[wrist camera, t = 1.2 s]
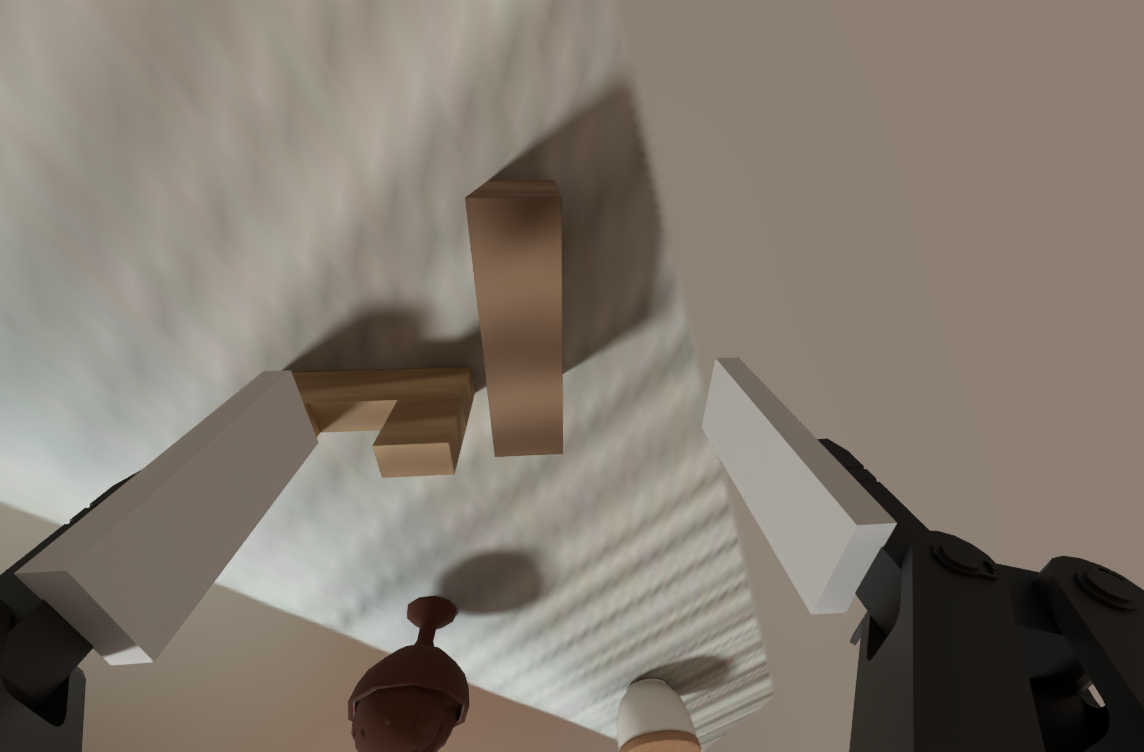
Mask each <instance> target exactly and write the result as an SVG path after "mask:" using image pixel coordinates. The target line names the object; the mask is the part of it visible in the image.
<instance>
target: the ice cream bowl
mask: <svg viewBox="0 0 1144 752" xmlns="http://www.w3.org/2000/svg"><path fill="white" fill-rule="evenodd" d="M456 609H457V608H456V607H455V606H454V605H453V604H452V603H451V602H450V601H449V600H446V599H442V598H438V597H435V596H433V597H424V598H418V599H416V600H415V601H413V602H412V603H410V604H408V610H407V619H408V620H410V621H411V622H412V623H413V624H414V625H415V626H417V627H419V628H420V630H419V635H418V639H417V641H416V643H415V644H414V645H410V646H406V647H403V648H401V649H399V650H397V651H395V652H394V653H392V654H390V655H389V656H387V657H386V658H384V659H383V660H381V661H380V662H379V663H377V664H376V665H374V666H373V667H372V668H370V669H369V670H368V671H367V672H366V673H365V675H364V676H363V677H362V678H361V680H360V681H359V682H358V684H357V686H356V687H355V689H354V691H353V693H352V695H351V697H350V699H349V701H348V719H349V720H350V721H352V722H353V724H352V736H353V739H354V740H355V747H356V749H357V750H358V752H437V751H438V750H439V749H440V748H441V747H442V746H444V745H445V743H446V741H447V739H448V738H449V736H450V734H451V732H452V729H453V727H455V726H457V725H459V724H461V723H463V722H465V719H466V715H467V712H468V708H469V688H468V684H467V680H466V677H465V674H464V672H463V671H462V670H461V668H460V667H459V666H458V664H457V663H456V662H455V661H454V660H453V659H452V658H451V657H450V656H448V655H447V654H446V653H445V652H444V651H442V650H441V649H440V648H438V647H434V643H433V640H434V636H435V631H436V629H439V628H443V627H444V626H446V625H448V624H449V623H451V622H453V620H454V618H455V614H456Z"/></svg>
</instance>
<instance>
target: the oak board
mask: <svg viewBox="0 0 1144 752" xmlns="http://www.w3.org/2000/svg"><path fill="white" fill-rule="evenodd" d="M292 375H293V378H294V380H295V383H296V385H297V388H298V391H299V393H300V396H301V398H302V401H303V404H304V406H305V409H306V412H307V414H308V417H309V419H310V422H311V425H312V427H313V430H314V433H315V435H316V438H317V436H318V435H319V434H320V432H344V431H369V430H381V431H380V433H379V435H378V437H377V438H376V440H375V442H374V444H373V450H374V453H375V456H376V459H377V463H378V466H379V469H380V472H381V476H382V478H386V477H407V476H429V475H450V474H455V470H456V466H457V462H458V458H459V454H460V450H461V446H462V442H463V438H464V434H465V430H466V426H467V422H468V418H469V414H470V410H471V406H472V402H473V398H474V394H475V393H474V385H473V378H472V370H471V367H457V368H423V369H389V370H355V371H321V372H292Z"/></svg>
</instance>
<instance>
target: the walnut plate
mask: <svg viewBox="0 0 1144 752" xmlns="http://www.w3.org/2000/svg"><path fill="white" fill-rule="evenodd" d="M465 201H466V210H467V219H468V227H469V236H470V245H471V253H472V262H473V271H474V279H475V288H476V297H477V305H478V314H479V323H480V331H481V340H482V349H483V357H484V366H485V375H486V383H487V392H488V401H489V409H490V418H491V427H492V435H493V444H494V453H495V457H502V456H524V455H546V454H563V377H562V216H561V196H560V194H559V191H558V189H557V187H556V185H555V182H554V181H487V182H486V183H484V184H483V185H482V186H480V187H479V188H478V189H476V190H475V191H474V192H472V193H471V194H470V195H468V196H467V197H466V198H465Z"/></svg>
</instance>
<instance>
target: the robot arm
mask: <svg viewBox="0 0 1144 752" xmlns="http://www.w3.org/2000/svg"><path fill="white" fill-rule="evenodd" d="M702 429H703V431H704V432H705V434H706V436H707V437H708V439H709V441H710V442H711V444H712V446H713V448H714V449H715V451H716V453H717V454H718V456H719V458H720V460H721V461H722V463H723V465H724V466H725V468H726V470H727V472H728V473H729V475H730V477H731V478H732V480H733V482H734V483H735V485H736V487H737V488H738V490H739V492H740V494H741V495H742V497H743V499H744V501H745V502H746V504H747V505H748V507H749V509H750V511H751V512H752V514H753V516H754V518H755V519H756V521H757V523H758V524H759V526H760V528H761V530H762V531H763V533H764V535H765V536H766V538H767V540H768V542H769V543H770V545H771V547H772V548H773V550H774V552H775V554H776V555H777V557H778V559H779V560H780V562H781V564H782V565H783V567H784V569H785V571H786V572H787V574H788V576H789V577H790V579H791V581H792V582H793V584H794V586H795V588H796V589H797V591H798V593H799V594H800V596H801V598H802V600H803V601H804V603H805V605H806V606H807V608H808V610H809V612H810V613H811V615H814V614H829V613H842V612H846V611H847V609H848V607H849V606H850V604H851V602H852V600H853V599H854V597H855V595H857V597H858V598H859V599H860V601H861V602H862V604H863V605H864V607H865V608H866V609H867V613H866V614H865V616H864V618H863V619H862V621H861V622H860V624H859V626H858V627H857V629H856V630H855V632H854V634H853V636H852V638H851V640H850V643H852V644H854V645H856V644H857V642H858V641H859V639H860V638H861V640H860V650H859V660H858V670H857V681H856V690H855V700H854V710H853V720H852V730H851V741H850V750H849V752H1144V590H1142V589H1141V588H1140V587H1138V586H1136V585H1135V584H1133V583H1132V582H1131V581H1129V580H1128V579H1126V578H1125V577H1123V576H1122V575H1120V574H1118V573H1116V572H1114V571H1111V570H1110V569H1107V568H1105V567H1103V566H1101V565H1098V564H1095V563H1092V562H1089V561H1087V560H1084V559H1081V558H1075V557H1067V556H1060V557H1056V558H1052V559H1051V560H1050V561H1049V563H1048V564H1047V565H1046V566H1045V567H1044V568H1043V569H1042V570H1041V571H1040V572H1035V571H1030V570H1025V569H1020V568H1016V567H1011V566H1006V565H1001V564H996V563H995V562H994V561H993V560H992V559H991V558H990V557H989V556H988V555H987V554H985V553H984V552H982V551H981V550H980V549H978V548H977V547H975V546H974V545H972V544H970V543H968V542H966V541H964V540H962V539H960V538H958V537H956V536H954V535H950V534H946V533H943V532H939V531H929V530H928V529H927V528H926V527H925V526H924V525H923V524H922V523H921V522H920V521H919V520H918V519H917V518H916V517H915V516H914V515H913V514H912V513H911V512H910V511H909V510H908V509H907V508H906V507H905V506H904V505H903V504H902V503H901V502H900V501H899V500H898V499H897V498H896V497H895V496H894V495H893V494H892V493H890V491H888V490H887V488H885V487H884V486H883V485H882V484H881V483H880V482H877V481H876V478H875V477H874V476H873V475H872V474H871V473H870V472H869V471H868V470H867V469H864V466H863V465H862V464H861V463H860V462H859V461H858V460H857V459H856V458H855V457H854V456H853V455H851V453H849V451H847V450H845V449H844V448H842V447H841V446H839V445H837V444H835V443H834V442H832V441H831V440H829V439H816V438H815V437H814V436H813V435H812V433H811V432H810V431H809V430H808V429H807V428H806V427H805V426H804V425H803V424H802V423H801V422H800V421H799V420H798V419H797V418H796V417H795V416H794V415H793V414H792V413H791V412H790V411H789V410H788V408H786V406H785V405H784V404H783V403H782V402H781V401H780V400H779V399H778V398H777V397H776V396H775V395H774V394H773V393H772V392H771V391H770V390H769V389H768V388H767V387H766V385H765V384H764V383H763V382H762V381H761V380H760V379H759V378H758V377H757V376H756V375H755V374H754V373H753V372H752V371H751V370H750V369H749V368H748V367H747V366H746V365H745V364H744V363H743V361H742V360H741V359H740V358H716V359H715V364H714V370H713V374H712V379H711V384H710V389H709V394H708V399H707V404H706V409H705V414H704V419H703V424H702ZM317 444H318V440H317V438H316V435H315V433H314V430H313V427H312V425H311V422H310V419H309V417H308V414H307V412H306V409H305V406H304V404H303V401H302V398H301V396H300V393H299V391H298V388H297V385H296V383H295V380H294V378H293V375H292V372H291V370H279V371H263V372H262V373H261V374H260V375H258V376H257V377H256V378H255V379H253V380H252V381H251V382H250V383H248V384H247V385H246V386H245V387H244V388H242V389H241V390H240V391H239V392H237V393H236V394H235V395H234V396H232V397H231V398H230V399H229V400H227V401H226V402H225V403H224V404H223V405H221V406H220V407H219V408H218V409H216V410H215V411H214V412H213V413H211V414H210V415H209V416H208V417H207V418H205V419H204V420H203V421H202V422H200V423H199V424H198V425H197V426H195V427H194V428H193V429H192V430H190V431H189V432H188V433H187V434H186V435H184V436H183V437H182V438H181V439H179V440H178V441H177V442H176V443H174V444H173V445H172V446H171V447H169V448H168V449H167V450H166V451H165V452H163V453H162V454H161V455H160V456H158V457H157V458H156V459H155V460H153V461H152V462H151V463H150V464H148V465H147V466H146V467H145V468H144V469H142V470H140V471H139V472H137V473H135V474H133V475H131V476H130V477H128V478H126V479H124V480H122V481H121V482H119V483H117V484H115V485H113V486H112V487H111V488H110V489H108V490H107V491H106V492H105V493H103V494H102V495H101V496H100V497H98V498H97V499H96V500H94V501H93V502H92V503H91V504H90V507H89V508H84V509H83V510H82V511H81V512H79V513H78V514H77V515H76V516H74V517H73V518H72V519H71V520H70V523H69V524H64V525H63V526H62V527H60V528H59V529H58V530H57V531H55V532H54V533H53V534H52V535H50V536H49V537H48V538H47V539H45V540H44V541H43V542H41V543H40V544H39V545H38V546H36V547H35V548H34V549H33V550H31V551H30V552H29V553H28V554H26V555H25V556H24V557H23V558H21V559H20V560H19V561H18V562H16V563H15V564H14V565H13V566H11V567H10V568H9V569H7V570H6V571H5V572H4V573H2V574H1V575H0V752H82V737H83V720H84V701H85V685H86V678H85V676H84V673H83V671H82V670H81V669H80V668H79V667H78V666H77V665H78V664H79V663H80V662H81V661H82V660H83V659H84V657H85V656H86V655H87V654H88V653H89V652H90V651H91V650H92V649H94V650H95V651H97V652H98V653H99V654H100V655H101V656H102V657H103V658H104V659H105V660H106V661H107V662H108V663H109V664H110V665H122V664H135V663H149V662H155V660H156V659H157V657H158V656H159V655H160V653H161V652H162V651H163V650H164V648H165V647H166V645H167V644H168V643H169V642H170V640H171V639H172V637H173V636H174V635H175V633H176V632H177V631H178V629H179V628H180V627H181V625H182V624H183V623H184V621H185V620H186V619H187V617H188V616H189V615H190V613H191V612H192V611H193V609H194V608H195V607H196V605H197V604H198V603H199V601H200V600H201V599H202V597H203V596H204V595H205V593H206V592H207V591H208V589H209V588H210V587H211V585H212V584H213V583H214V581H215V580H216V579H217V577H218V576H219V575H220V573H221V572H222V571H223V569H224V568H225V567H226V565H227V564H228V563H229V561H230V560H231V559H232V557H233V556H234V555H235V553H236V552H237V551H238V549H239V548H240V547H241V545H242V544H243V543H244V541H245V540H246V539H247V537H248V536H249V535H250V533H251V532H252V531H253V529H254V528H255V527H256V525H257V524H258V523H259V521H260V520H261V519H262V517H263V516H264V515H265V513H266V512H267V511H268V509H269V508H270V507H271V505H272V504H273V503H274V501H275V500H276V499H277V497H278V496H279V495H280V493H281V492H282V491H283V489H284V488H285V487H286V485H287V484H288V483H289V481H290V480H291V479H292V477H293V476H294V475H295V473H296V472H297V471H298V469H299V468H300V467H301V465H302V464H303V463H304V461H305V460H306V459H307V457H308V456H309V455H310V453H311V452H312V450H313V449H314V448H315V446H316V445H317ZM1092 684H1094V686H1095V688H1096V689H1097V691H1098V692H1099V694H1100V696H1101V697H1102V699H1103V701H1104V703H1105V706H1104V707H1100V705H1099V704H1098V703H1097V702H1096V700H1095V699H1094V697H1093V696H1092V694H1091V692H1090V691H1089V689H1088V688H1089V687H1090V686H1091V685H1092Z"/></svg>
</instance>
